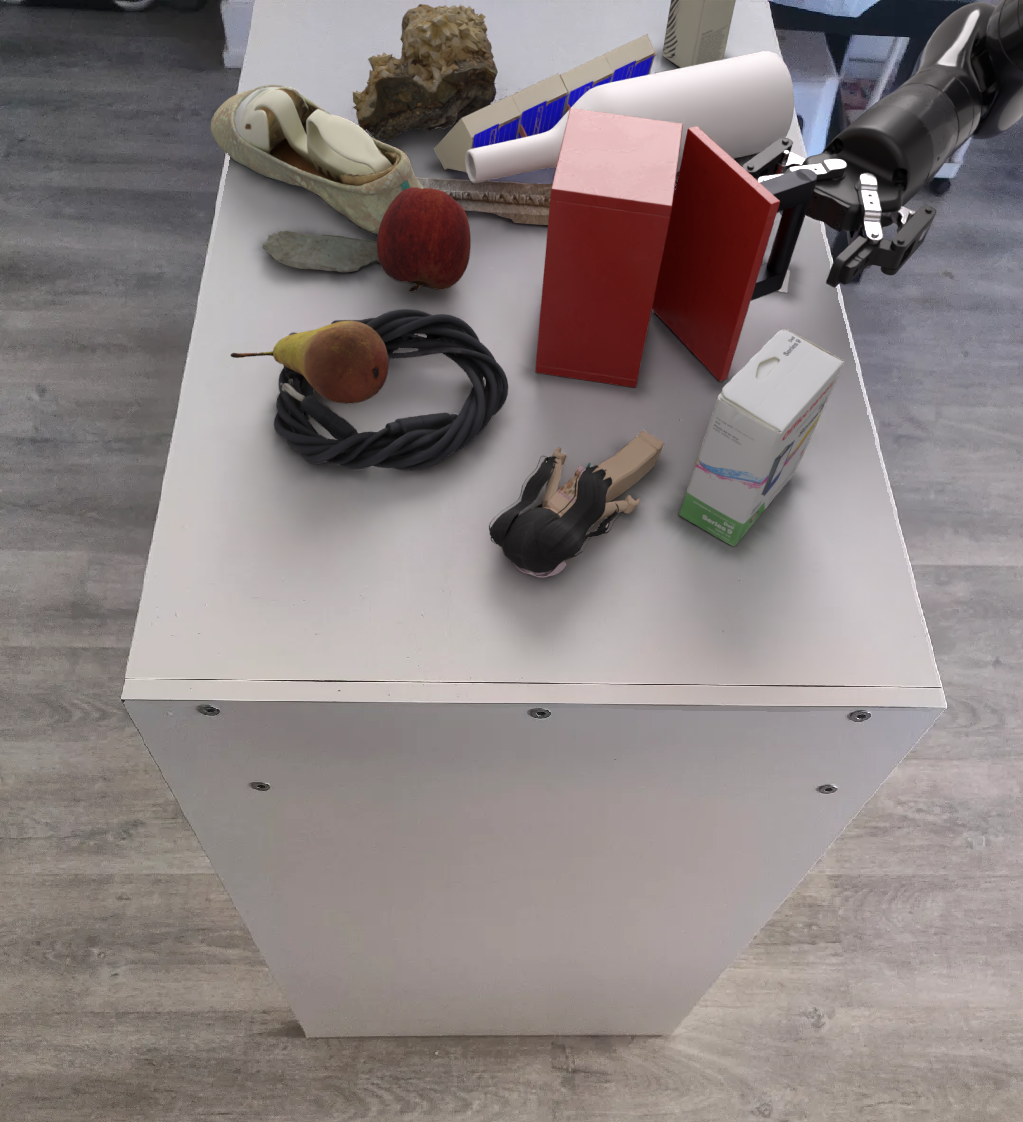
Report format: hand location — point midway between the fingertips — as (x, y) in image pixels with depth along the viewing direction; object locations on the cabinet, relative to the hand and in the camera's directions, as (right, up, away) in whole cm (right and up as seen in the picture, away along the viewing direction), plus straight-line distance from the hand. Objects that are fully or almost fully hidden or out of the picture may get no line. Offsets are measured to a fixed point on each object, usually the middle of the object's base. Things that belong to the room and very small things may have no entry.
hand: (783, 249), depth 74 cm
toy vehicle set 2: (0, +4, +13) cm, 14 cm away
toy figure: (-15, -20, -1) cm, 25 cm away
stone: (-35, +7, +13) cm, 38 cm away
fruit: (-29, -10, -5) cm, 31 cm away
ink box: (-3, -18, 0) cm, 19 cm away
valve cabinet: (-13, -4, +8) cm, 16 cm away
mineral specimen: (-28, +23, +23) cm, 43 cm away
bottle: (+4, +22, +20) cm, 30 cm away
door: (-3, -3, +9) cm, 10 cm away
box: (-1, +32, +31) cm, 45 cm away
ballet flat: (-36, +14, +17) cm, 42 cm away
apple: (-27, +1, +10) cm, 29 cm away
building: (-17, +23, +19) cm, 35 cm away
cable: (-29, -11, +3) cm, 31 cm away
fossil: (-21, +11, +16) cm, 29 cm away
